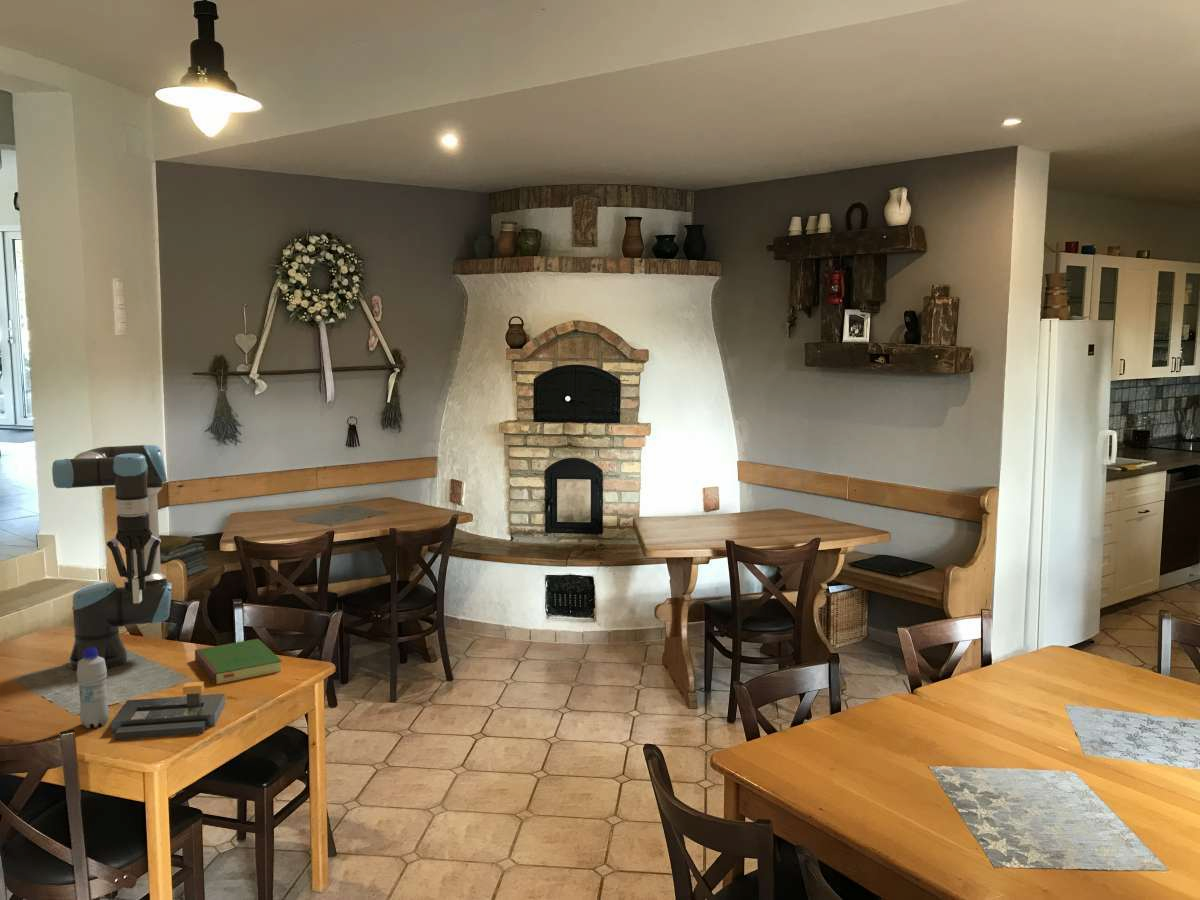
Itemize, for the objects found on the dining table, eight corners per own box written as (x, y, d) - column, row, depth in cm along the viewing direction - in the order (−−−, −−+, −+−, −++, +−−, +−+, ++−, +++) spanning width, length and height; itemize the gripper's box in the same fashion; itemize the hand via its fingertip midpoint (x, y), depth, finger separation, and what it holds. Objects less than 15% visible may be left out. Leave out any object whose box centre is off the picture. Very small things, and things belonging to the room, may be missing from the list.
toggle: (186, 708, 243) (185, 682, 242) (204, 707, 244) (203, 681, 243) (184, 712, 240) (182, 686, 239) (202, 711, 241) (201, 685, 240)
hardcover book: (195, 661, 284) (194, 649, 283) (258, 650, 295) (258, 638, 294) (215, 687, 264) (214, 674, 263) (283, 673, 274) (282, 661, 274)
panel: (127, 711, 245) (127, 699, 245) (225, 704, 250) (224, 692, 250) (111, 733, 232) (110, 721, 231) (214, 725, 236) (214, 713, 236)
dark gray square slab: (139, 706, 248) (138, 699, 248) (219, 700, 252) (219, 694, 252) (115, 740, 228) (114, 732, 228) (202, 733, 232) (202, 726, 232)
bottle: (97, 731, 233) (92, 653, 230) (73, 728, 234) (68, 651, 232) (116, 720, 239) (111, 644, 237) (93, 717, 241) (88, 642, 238)
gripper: (100, 517, 238) (106, 607, 241) (156, 516, 240) (161, 604, 244) (109, 511, 245) (114, 598, 248) (163, 510, 248) (167, 596, 251)
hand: (137, 601), depth 246 cm, fingers closed
